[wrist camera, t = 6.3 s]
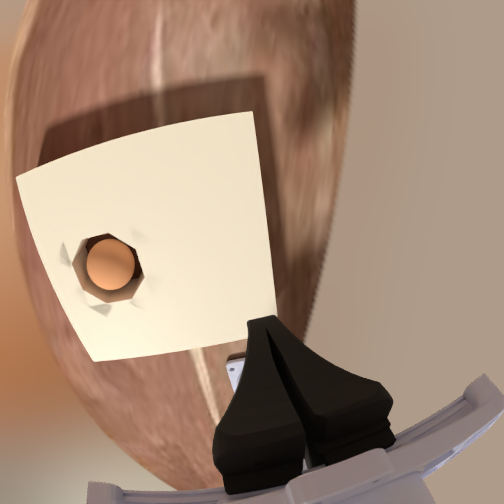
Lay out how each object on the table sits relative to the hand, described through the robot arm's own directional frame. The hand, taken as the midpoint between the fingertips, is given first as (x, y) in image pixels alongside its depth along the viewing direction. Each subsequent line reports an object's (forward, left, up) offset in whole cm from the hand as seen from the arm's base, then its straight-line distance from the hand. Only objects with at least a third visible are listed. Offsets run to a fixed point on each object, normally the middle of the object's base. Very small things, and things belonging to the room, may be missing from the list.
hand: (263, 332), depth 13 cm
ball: (+2, +9, -8) cm, 12 cm away
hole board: (+2, +6, -9) cm, 11 cm away
